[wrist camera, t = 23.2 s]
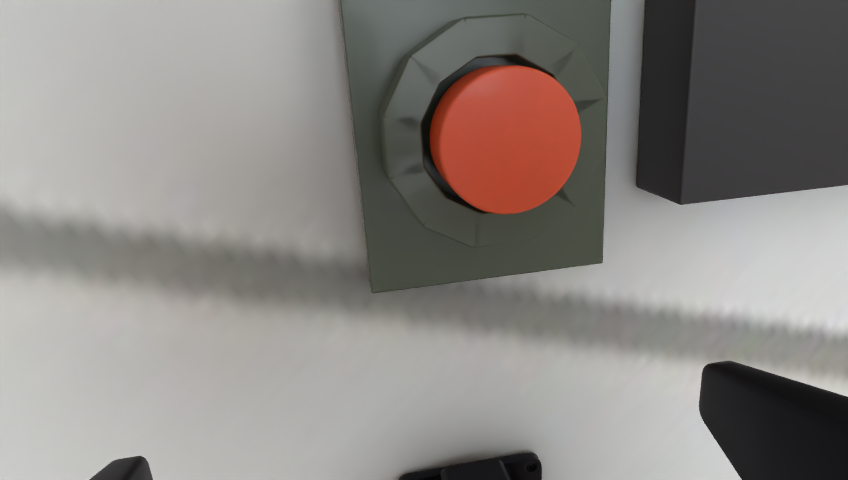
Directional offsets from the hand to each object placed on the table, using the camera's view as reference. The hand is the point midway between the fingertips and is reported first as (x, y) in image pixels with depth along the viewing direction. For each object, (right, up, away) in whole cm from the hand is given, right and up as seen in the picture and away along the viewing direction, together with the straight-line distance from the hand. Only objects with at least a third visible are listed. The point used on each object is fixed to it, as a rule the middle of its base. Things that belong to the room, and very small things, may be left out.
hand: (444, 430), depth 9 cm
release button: (+2, +6, +9) cm, 12 cm away
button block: (+2, +7, +12) cm, 14 cm away
